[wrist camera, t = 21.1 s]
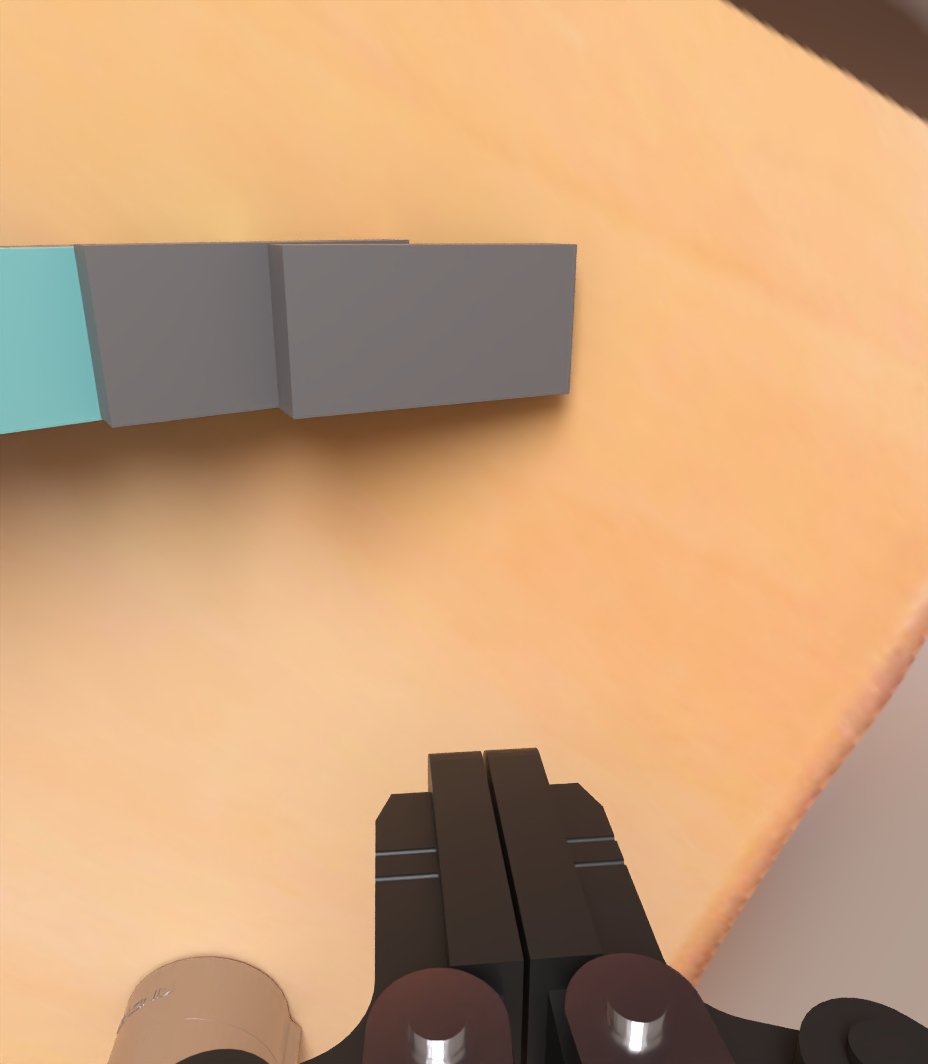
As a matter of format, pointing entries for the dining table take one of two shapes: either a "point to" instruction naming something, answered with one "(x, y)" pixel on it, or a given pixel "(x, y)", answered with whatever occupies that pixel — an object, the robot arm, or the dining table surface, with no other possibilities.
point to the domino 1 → (43, 342)
